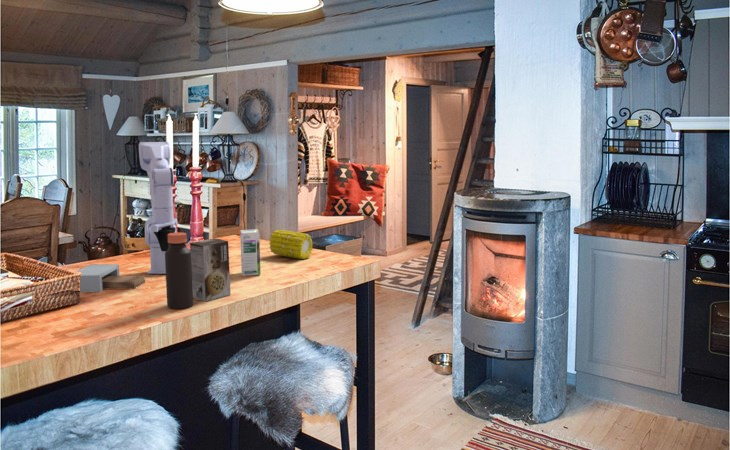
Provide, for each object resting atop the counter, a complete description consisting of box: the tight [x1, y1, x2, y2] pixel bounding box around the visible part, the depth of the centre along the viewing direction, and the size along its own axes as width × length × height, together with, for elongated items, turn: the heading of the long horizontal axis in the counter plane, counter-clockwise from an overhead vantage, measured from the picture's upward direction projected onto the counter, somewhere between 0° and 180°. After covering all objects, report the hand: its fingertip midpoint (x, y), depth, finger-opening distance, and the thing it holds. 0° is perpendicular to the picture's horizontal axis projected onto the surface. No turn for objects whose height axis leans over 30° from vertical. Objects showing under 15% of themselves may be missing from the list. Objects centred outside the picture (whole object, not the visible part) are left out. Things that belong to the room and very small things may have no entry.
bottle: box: [165, 231, 194, 310], centre depth 176 cm, size 7×7×20 cm
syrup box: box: [240, 229, 261, 277], centre depth 213 cm, size 6×6×14 cm
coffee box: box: [189, 237, 231, 302], centre depth 186 cm, size 9×6×16 cm
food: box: [269, 229, 313, 260], centre depth 239 cm, size 15×12×10 cm
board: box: [102, 275, 146, 290], centre depth 199 cm, size 16×8×2 cm, turn 86°
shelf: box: [76, 263, 120, 293], centre depth 198 cm, size 9×14×5 cm, turn 179°
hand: (165, 251), depth 201 cm, fingers closed
